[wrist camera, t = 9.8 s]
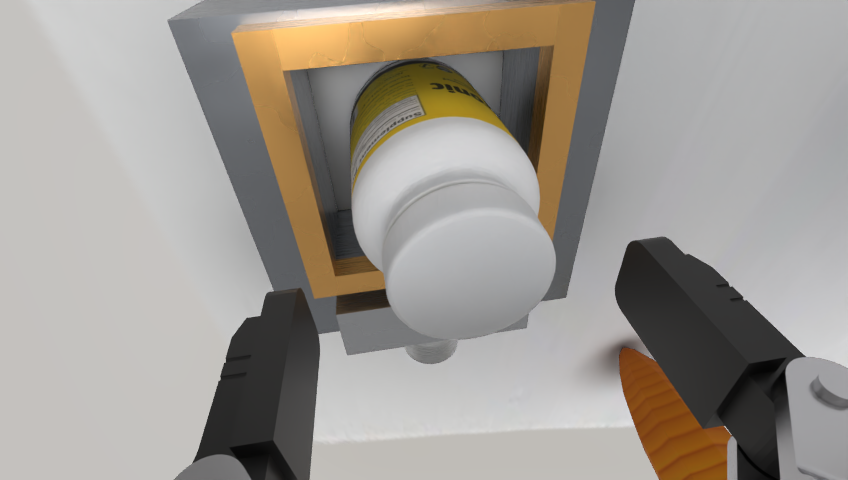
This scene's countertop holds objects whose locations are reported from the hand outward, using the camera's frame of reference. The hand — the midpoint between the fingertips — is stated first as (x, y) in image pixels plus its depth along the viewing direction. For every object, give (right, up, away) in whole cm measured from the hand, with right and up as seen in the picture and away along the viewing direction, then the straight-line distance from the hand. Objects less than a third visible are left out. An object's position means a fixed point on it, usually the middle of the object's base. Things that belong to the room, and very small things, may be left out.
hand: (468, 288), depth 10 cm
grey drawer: (-1, +3, +9) cm, 10 cm away
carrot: (+13, -7, +20) cm, 25 cm away
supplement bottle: (-1, +6, +7) cm, 9 cm away
